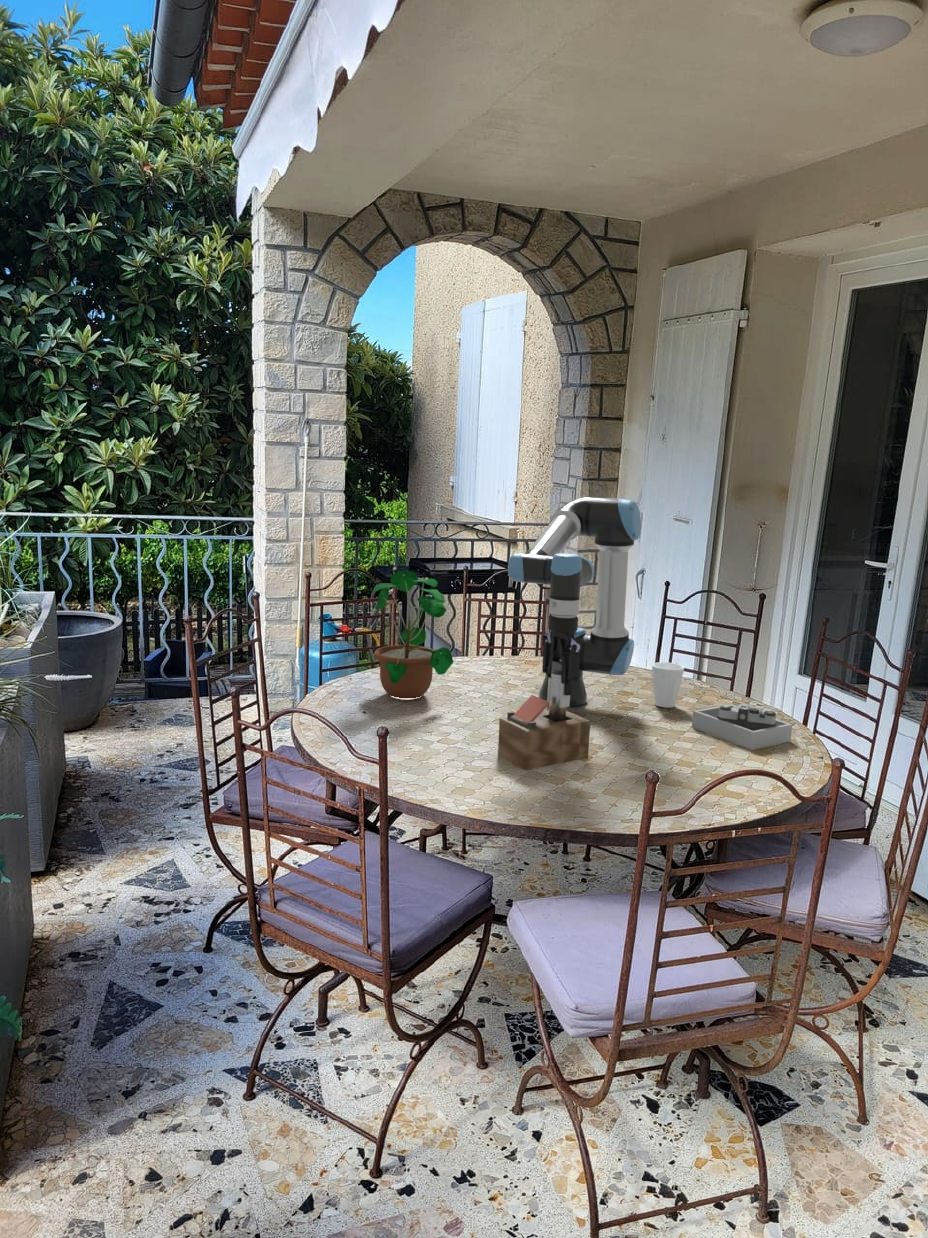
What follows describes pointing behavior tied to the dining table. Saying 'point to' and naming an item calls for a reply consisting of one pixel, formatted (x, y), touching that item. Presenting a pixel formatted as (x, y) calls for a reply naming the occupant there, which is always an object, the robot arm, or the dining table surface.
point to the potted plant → (411, 642)
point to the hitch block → (543, 740)
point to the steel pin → (556, 693)
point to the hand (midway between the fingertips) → (558, 704)
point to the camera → (747, 717)
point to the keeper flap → (530, 710)
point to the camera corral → (740, 730)
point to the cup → (666, 683)
